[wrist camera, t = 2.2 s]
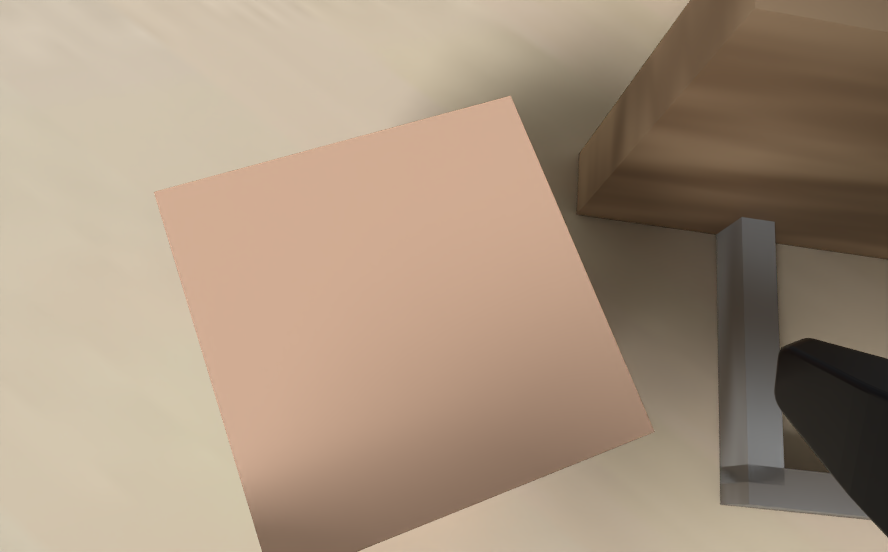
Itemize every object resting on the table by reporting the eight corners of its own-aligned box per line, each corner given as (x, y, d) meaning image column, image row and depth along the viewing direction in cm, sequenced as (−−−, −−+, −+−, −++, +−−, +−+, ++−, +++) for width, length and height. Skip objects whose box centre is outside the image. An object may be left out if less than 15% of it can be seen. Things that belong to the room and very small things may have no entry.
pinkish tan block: (502, 466, 20) (654, 431, 11) (298, 546, 19) (272, 585, 10) (429, 274, 22) (510, 95, 12) (232, 337, 20) (153, 191, 11)
